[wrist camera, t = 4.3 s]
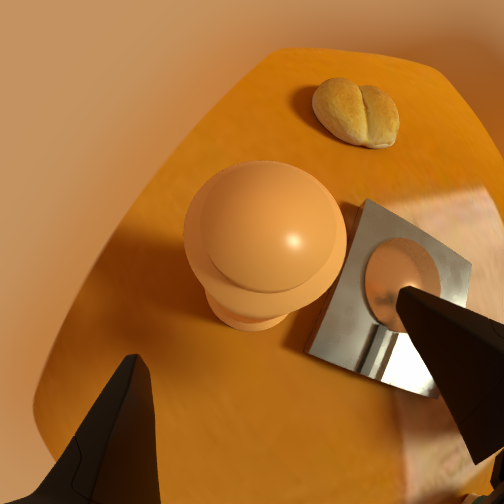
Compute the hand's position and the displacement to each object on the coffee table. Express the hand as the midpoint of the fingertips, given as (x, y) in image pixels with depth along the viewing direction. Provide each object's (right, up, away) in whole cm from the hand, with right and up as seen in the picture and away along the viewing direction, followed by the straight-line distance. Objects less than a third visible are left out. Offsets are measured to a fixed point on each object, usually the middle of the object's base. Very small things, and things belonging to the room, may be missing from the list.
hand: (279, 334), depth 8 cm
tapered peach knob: (-1, 0, +10) cm, 10 cm away
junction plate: (+11, -2, +10) cm, 15 cm away
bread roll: (+9, +16, +16) cm, 24 cm away
